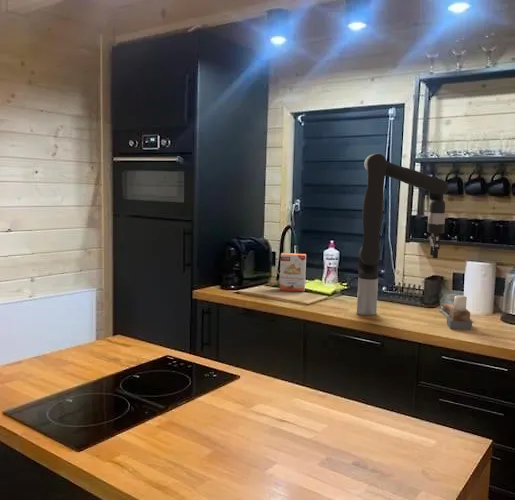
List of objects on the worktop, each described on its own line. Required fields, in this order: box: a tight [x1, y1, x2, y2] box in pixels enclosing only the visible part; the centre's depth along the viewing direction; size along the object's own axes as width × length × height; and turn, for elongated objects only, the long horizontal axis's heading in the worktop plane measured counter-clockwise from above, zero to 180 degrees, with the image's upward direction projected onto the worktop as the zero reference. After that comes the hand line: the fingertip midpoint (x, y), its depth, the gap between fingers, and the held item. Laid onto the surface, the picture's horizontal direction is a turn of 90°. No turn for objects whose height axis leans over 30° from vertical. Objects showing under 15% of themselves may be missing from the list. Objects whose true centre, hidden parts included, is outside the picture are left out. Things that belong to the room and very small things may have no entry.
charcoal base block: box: [446, 316, 473, 331], centre depth 245 cm, size 9×9×4 cm
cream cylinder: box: [453, 295, 468, 312], centre depth 244 cm, size 5×5×6 cm
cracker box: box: [279, 252, 307, 293], centre depth 311 cm, size 14×6×21 cm, turn 81°
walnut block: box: [449, 308, 471, 322], centre depth 244 cm, size 7×7×4 cm
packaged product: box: [438, 303, 472, 321], centre depth 263 cm, size 18×5×10 cm
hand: (433, 256), depth 261 cm, fingers open, 8 cm apart
